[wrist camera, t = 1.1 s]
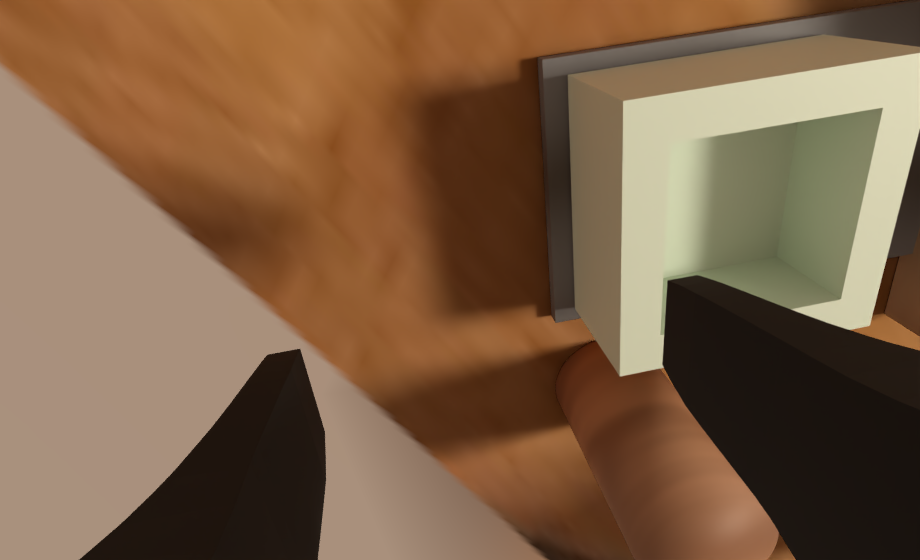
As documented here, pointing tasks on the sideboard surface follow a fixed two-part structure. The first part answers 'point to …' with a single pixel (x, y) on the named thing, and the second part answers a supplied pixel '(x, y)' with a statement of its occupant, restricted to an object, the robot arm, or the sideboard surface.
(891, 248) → the block
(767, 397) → the robot arm
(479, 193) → the sideboard surface
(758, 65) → the socket block
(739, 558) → the dowel
